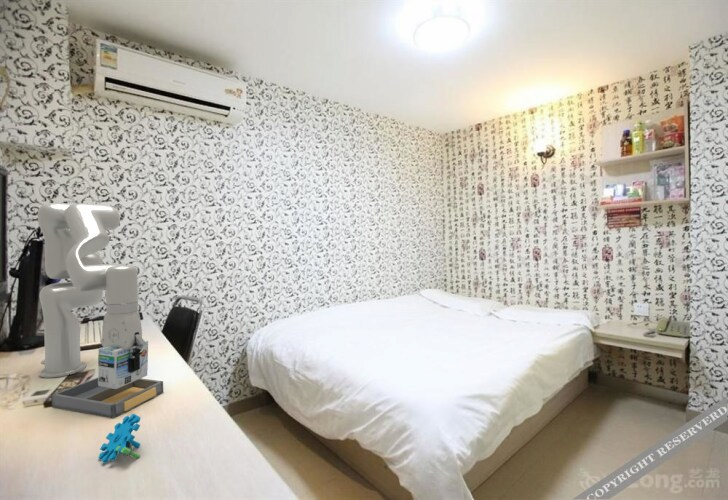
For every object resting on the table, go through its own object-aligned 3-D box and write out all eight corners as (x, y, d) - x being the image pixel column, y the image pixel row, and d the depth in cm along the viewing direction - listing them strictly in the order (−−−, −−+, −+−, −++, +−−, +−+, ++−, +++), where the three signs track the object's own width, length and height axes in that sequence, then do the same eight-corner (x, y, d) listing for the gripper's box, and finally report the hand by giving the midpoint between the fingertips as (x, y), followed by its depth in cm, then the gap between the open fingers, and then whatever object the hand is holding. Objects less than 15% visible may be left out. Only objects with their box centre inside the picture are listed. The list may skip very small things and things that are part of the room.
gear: (95, 442, 78) (132, 404, 81) (118, 452, 81) (153, 414, 85) (97, 475, 69) (138, 430, 73) (122, 484, 73) (161, 441, 76)
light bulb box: (116, 390, 95) (116, 351, 94) (96, 386, 96) (96, 348, 96) (148, 375, 105) (149, 339, 105) (130, 372, 107) (131, 337, 106)
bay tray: (52, 407, 97) (51, 394, 97) (107, 384, 113) (107, 373, 113) (114, 418, 91) (114, 405, 91) (164, 392, 107) (164, 381, 107)
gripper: (86, 309, 98) (88, 371, 99) (134, 312, 94) (135, 377, 94) (112, 304, 106) (113, 362, 106) (157, 307, 101) (158, 367, 102)
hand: (123, 369), depth 100 cm, fingers closed on light bulb box, 6 cm apart
